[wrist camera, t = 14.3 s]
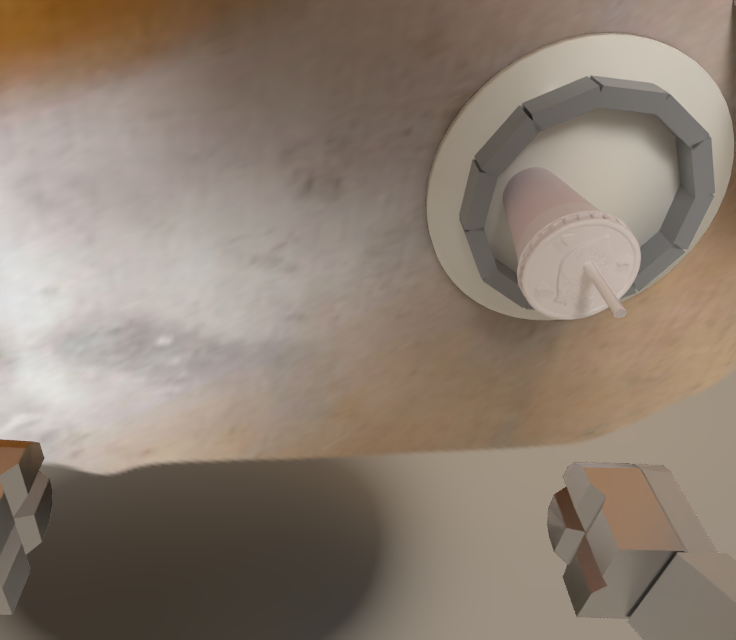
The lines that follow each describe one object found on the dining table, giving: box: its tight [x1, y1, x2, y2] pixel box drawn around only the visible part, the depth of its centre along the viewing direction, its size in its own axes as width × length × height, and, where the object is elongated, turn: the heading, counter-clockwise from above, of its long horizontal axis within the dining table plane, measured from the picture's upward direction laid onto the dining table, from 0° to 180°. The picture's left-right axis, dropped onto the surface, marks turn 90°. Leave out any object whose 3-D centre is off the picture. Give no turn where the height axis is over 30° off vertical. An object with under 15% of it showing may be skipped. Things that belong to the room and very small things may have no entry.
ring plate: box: [426, 32, 734, 320], centre depth 40 cm, size 20×20×3 cm
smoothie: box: [503, 167, 641, 320], centre depth 35 cm, size 6×6×14 cm
